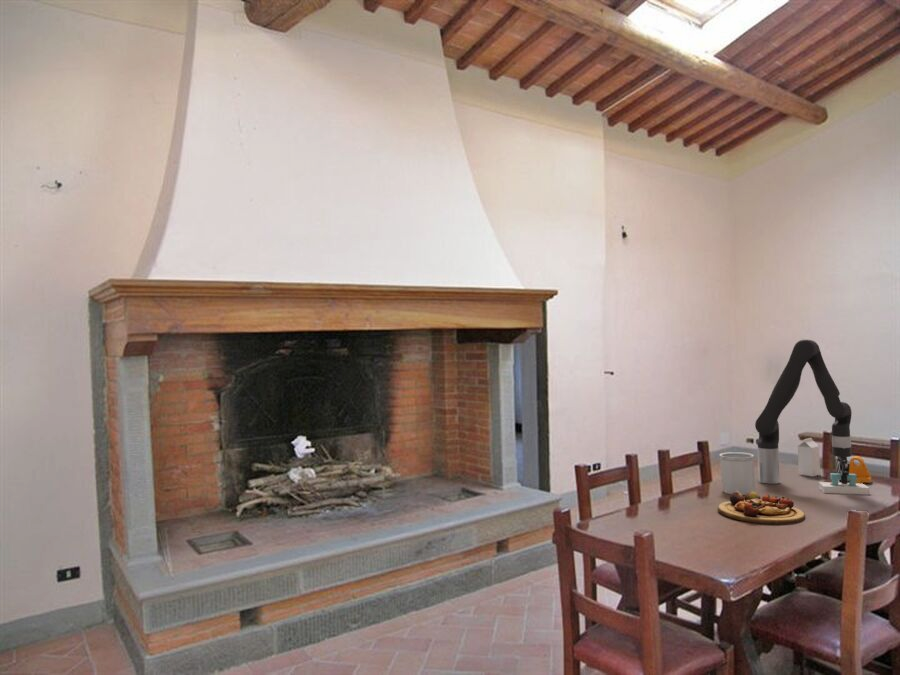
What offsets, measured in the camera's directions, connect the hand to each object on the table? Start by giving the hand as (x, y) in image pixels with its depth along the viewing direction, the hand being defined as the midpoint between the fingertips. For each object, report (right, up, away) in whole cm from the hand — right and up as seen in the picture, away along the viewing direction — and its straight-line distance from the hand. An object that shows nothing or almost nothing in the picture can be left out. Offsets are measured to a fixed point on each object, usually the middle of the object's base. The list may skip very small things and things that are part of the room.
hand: (843, 482), depth 282 cm
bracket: (+18, -4, +18) cm, 26 cm away
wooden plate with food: (-54, -6, -31) cm, 63 cm away
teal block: (0, -2, 0) cm, 2 cm away
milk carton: (+6, -5, +36) cm, 37 cm away
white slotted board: (0, -4, 0) cm, 4 cm away
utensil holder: (-46, -6, +6) cm, 47 cm away
